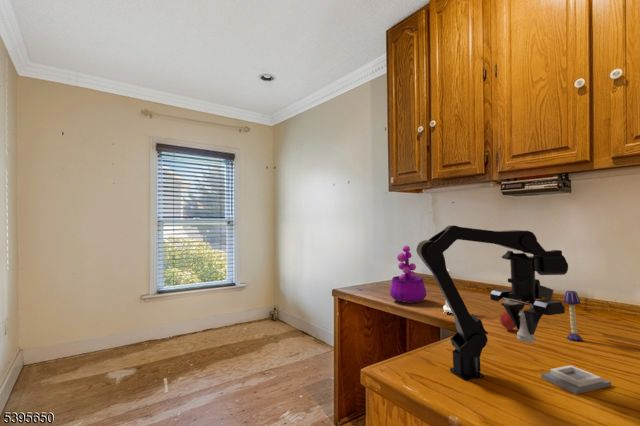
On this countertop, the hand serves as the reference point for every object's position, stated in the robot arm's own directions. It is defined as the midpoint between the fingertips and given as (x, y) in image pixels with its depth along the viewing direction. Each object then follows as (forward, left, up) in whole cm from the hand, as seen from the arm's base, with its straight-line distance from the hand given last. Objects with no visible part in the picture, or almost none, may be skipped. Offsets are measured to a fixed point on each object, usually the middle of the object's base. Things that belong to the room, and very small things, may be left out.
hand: (525, 332), depth 90 cm
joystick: (+22, +59, -12) cm, 64 cm away
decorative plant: (+14, +84, -12) cm, 86 cm away
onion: (+25, +30, -12) cm, 41 cm away
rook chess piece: (0, 0, -2) cm, 2 cm away
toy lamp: (+38, +15, -12) cm, 42 cm away
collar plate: (+8, -7, -12) cm, 16 cm away
